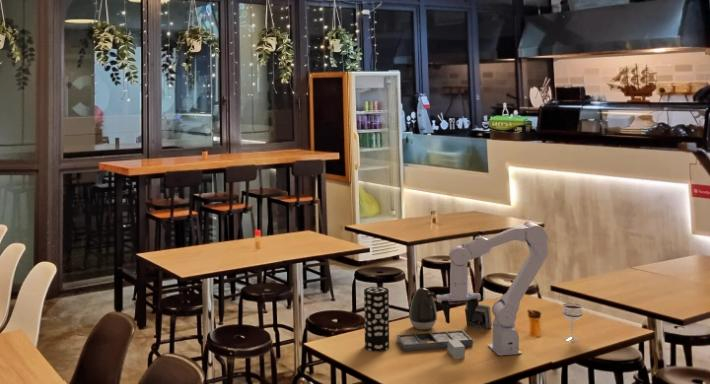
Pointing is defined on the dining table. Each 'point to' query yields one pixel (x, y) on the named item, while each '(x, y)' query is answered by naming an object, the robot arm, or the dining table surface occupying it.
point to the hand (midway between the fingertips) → (458, 321)
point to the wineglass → (572, 316)
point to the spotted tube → (376, 318)
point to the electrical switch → (480, 317)
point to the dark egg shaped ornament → (423, 310)
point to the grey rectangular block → (456, 348)
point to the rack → (432, 340)
